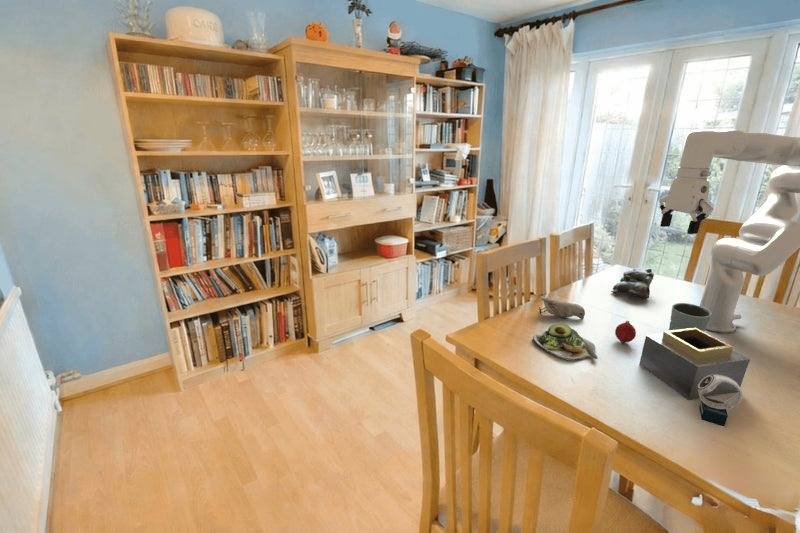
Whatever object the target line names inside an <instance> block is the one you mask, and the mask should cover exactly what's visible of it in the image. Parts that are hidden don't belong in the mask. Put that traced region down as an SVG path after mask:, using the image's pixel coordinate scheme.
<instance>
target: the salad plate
mask: <svg viewBox="0 0 800 533" xmlns="http://www.w3.org/2000/svg"><path fill="white" fill-rule="evenodd" d="M532 340H533V342H534V343H535V345H536V346H538V348H540V349H542V350H543V351H545V352H547V353H548V354H551V355H552V356H555V357H557V358H559V359H561V360H567V361H580V360H583V359H585V358H586V359H587V358H592V359H594V360H595V359H596V360H597V359H599V357H598V355H597V354H596V353H595V352H596V350H597V349H596V348H597V347H596V345H595V343H593V341H590V340H588V339H586V338H584V337H582V336H580V334H579V333H578V332H577V330H575V329H574V328H571V327H570V326H569V325H567V324H565V323H555V324H554V323H553V324H552V325H550V326H549V327H548V330H545V331H542V332H538V333H536V334H534V335H533V338H532ZM557 350H558V351H565V352H567V354H570V355H569V356H567V355H563V354H559V353H556V352H554V351H557Z"/></svg>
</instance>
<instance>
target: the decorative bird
mask: <svg viewBox="0 0 800 533" xmlns="http://www.w3.org/2000/svg"><path fill="white" fill-rule="evenodd" d="M540 300H541V301H543V305H544V307H543V308H539V314H540V317H542V314H543V313H545V312H547V313H549V314H551V315H553V316H556V317H560V318H572V317H577V318H579V319H580V320H582V321H584V318H585V316H586V315H585V314H586V311H585V309H584V307H583V306H582V305H580V304H578V303H572V302H567V301H565V300H559V299H552V298H549V297H545V296H542V295H541V296H540ZM542 310H544V311H542Z"/></svg>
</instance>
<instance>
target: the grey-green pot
mask: <svg viewBox="0 0 800 533" xmlns="http://www.w3.org/2000/svg"><path fill="white" fill-rule="evenodd" d="M711 315H712V313H711V312H710V311H709V310H707V309H705V308H703V307H701V306H700V305H697V304H693V303H687V302H677V303H674V304H672V306H671V314H670V321H669V327H668V330H667V331H672V330H680V329H688V328H697V329H699V330H701V331H703V332H705V331H706V329H705V328H706V327H707V325H708V322H709V320H710V318H711Z"/></svg>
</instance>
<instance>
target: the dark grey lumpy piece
mask: <svg viewBox="0 0 800 533" xmlns="http://www.w3.org/2000/svg"><path fill="white" fill-rule="evenodd" d="M622 275H623V276H622V277H620V279H619V282H618V283H616V284H615V285H613V287H612V290H611V292H612V294H622V295H623V294H624V295H630V296H634V297H637V298H638V297H640V298H642V299H645V300H648V299H650V295H651V294H650V293H651V290H650V286H651V284H652V282H653V280H654V277H655V274H654V273H653V272H652V269H651V268H648V269H644V268H632V269H630V270H627V271H625V272H623V274H622Z"/></svg>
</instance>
